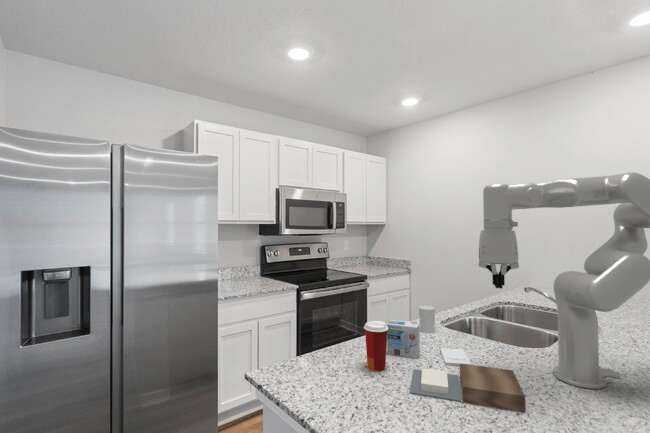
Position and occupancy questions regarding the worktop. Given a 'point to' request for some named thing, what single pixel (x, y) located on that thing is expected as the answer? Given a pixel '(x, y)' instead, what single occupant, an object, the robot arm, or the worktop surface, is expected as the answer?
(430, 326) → the grey tapered cup
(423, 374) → the cream rectangular block
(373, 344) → the paper cup
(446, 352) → the external hard drive
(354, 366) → the worktop surface
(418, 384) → the mat
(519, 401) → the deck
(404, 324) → the light bulb box
